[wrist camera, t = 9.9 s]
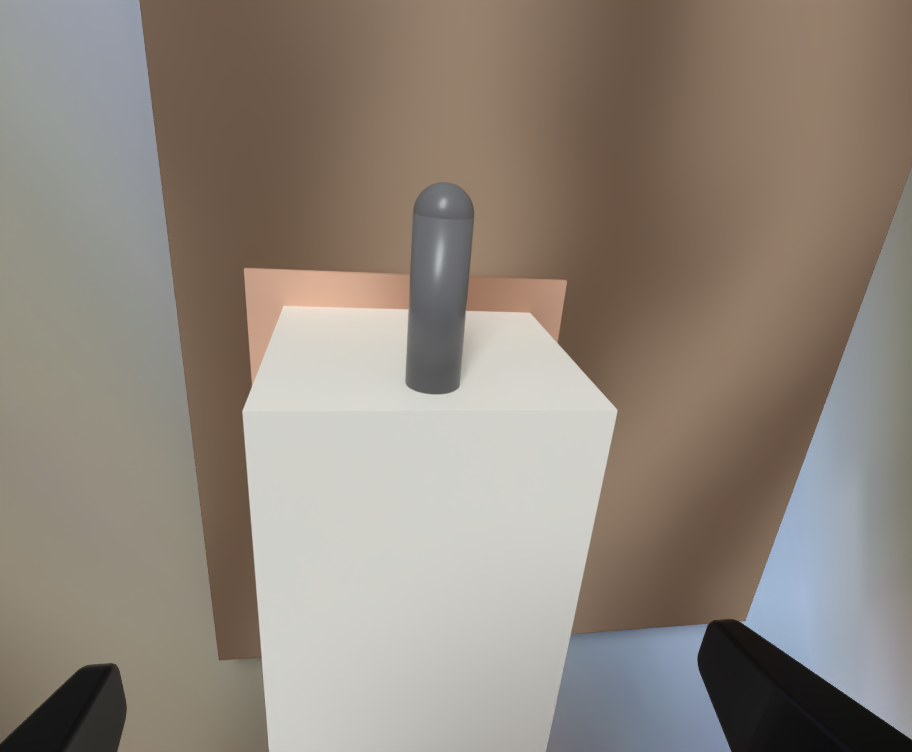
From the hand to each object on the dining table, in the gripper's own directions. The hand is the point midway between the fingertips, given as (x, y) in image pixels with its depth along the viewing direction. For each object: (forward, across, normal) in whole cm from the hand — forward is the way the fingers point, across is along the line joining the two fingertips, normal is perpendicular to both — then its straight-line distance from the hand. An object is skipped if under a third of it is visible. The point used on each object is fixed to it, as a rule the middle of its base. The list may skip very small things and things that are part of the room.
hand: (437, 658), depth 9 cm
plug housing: (+5, 0, -1) cm, 5 cm away
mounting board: (+6, -3, -4) cm, 7 cm away
